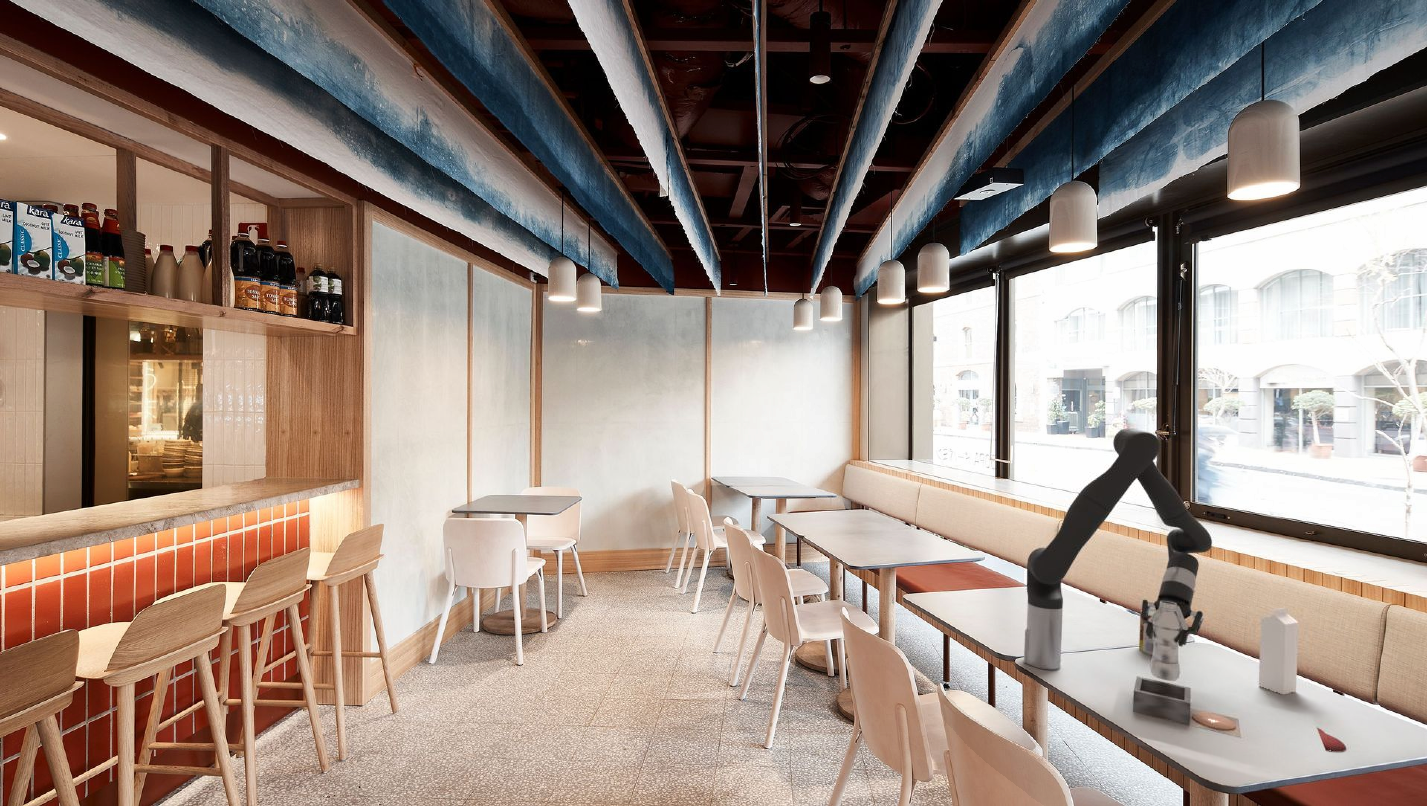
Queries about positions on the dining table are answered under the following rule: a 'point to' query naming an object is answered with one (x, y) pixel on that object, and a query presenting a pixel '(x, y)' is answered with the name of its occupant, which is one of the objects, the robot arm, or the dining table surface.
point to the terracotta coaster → (1213, 721)
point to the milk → (1278, 652)
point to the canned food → (1144, 642)
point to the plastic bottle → (1166, 642)
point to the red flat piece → (1331, 742)
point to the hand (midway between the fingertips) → (1164, 640)
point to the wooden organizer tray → (1171, 704)
